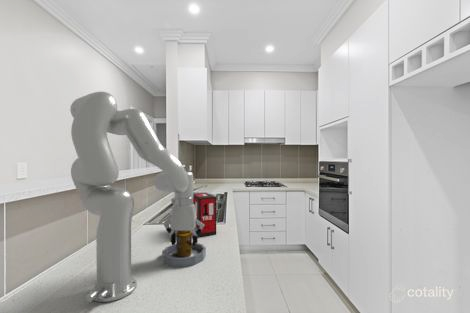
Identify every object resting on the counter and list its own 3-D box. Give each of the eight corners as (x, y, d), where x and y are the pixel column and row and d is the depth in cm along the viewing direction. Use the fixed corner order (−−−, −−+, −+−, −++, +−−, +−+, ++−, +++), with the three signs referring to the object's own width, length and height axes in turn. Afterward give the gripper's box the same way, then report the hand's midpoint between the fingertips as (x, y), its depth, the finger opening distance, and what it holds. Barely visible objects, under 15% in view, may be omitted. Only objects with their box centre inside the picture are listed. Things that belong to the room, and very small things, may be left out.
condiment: (195, 256, 94) (195, 226, 94) (174, 261, 89) (174, 230, 89) (188, 250, 100) (188, 222, 100) (168, 254, 95) (168, 225, 95)
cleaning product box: (216, 234, 122) (216, 196, 122) (200, 237, 118) (200, 198, 118) (205, 226, 137) (205, 192, 137) (191, 228, 133) (191, 193, 133)
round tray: (199, 267, 85) (199, 259, 85) (155, 265, 87) (155, 257, 87) (209, 249, 102) (209, 242, 102) (171, 248, 104) (171, 241, 104)
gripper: (159, 203, 92) (159, 247, 92) (202, 203, 90) (202, 248, 90) (167, 199, 99) (167, 240, 99) (206, 200, 98) (207, 241, 98)
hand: (184, 244), depth 95 cm, fingers open, 8 cm apart
